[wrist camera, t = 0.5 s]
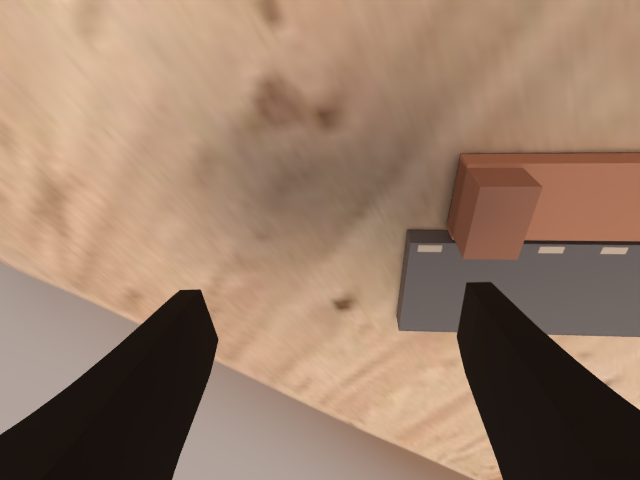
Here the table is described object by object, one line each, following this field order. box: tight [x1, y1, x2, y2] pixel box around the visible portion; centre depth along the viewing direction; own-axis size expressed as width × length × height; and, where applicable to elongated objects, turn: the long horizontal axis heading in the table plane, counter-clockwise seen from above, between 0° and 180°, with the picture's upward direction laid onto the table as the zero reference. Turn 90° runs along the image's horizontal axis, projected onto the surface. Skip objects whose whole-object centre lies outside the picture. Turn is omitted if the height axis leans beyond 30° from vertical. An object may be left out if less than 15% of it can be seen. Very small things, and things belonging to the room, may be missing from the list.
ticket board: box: [397, 230, 640, 337], centre depth 20 cm, size 14×6×1 cm, turn 92°
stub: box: [447, 153, 640, 260], centre depth 16 cm, size 10×4×3 cm, turn 92°
